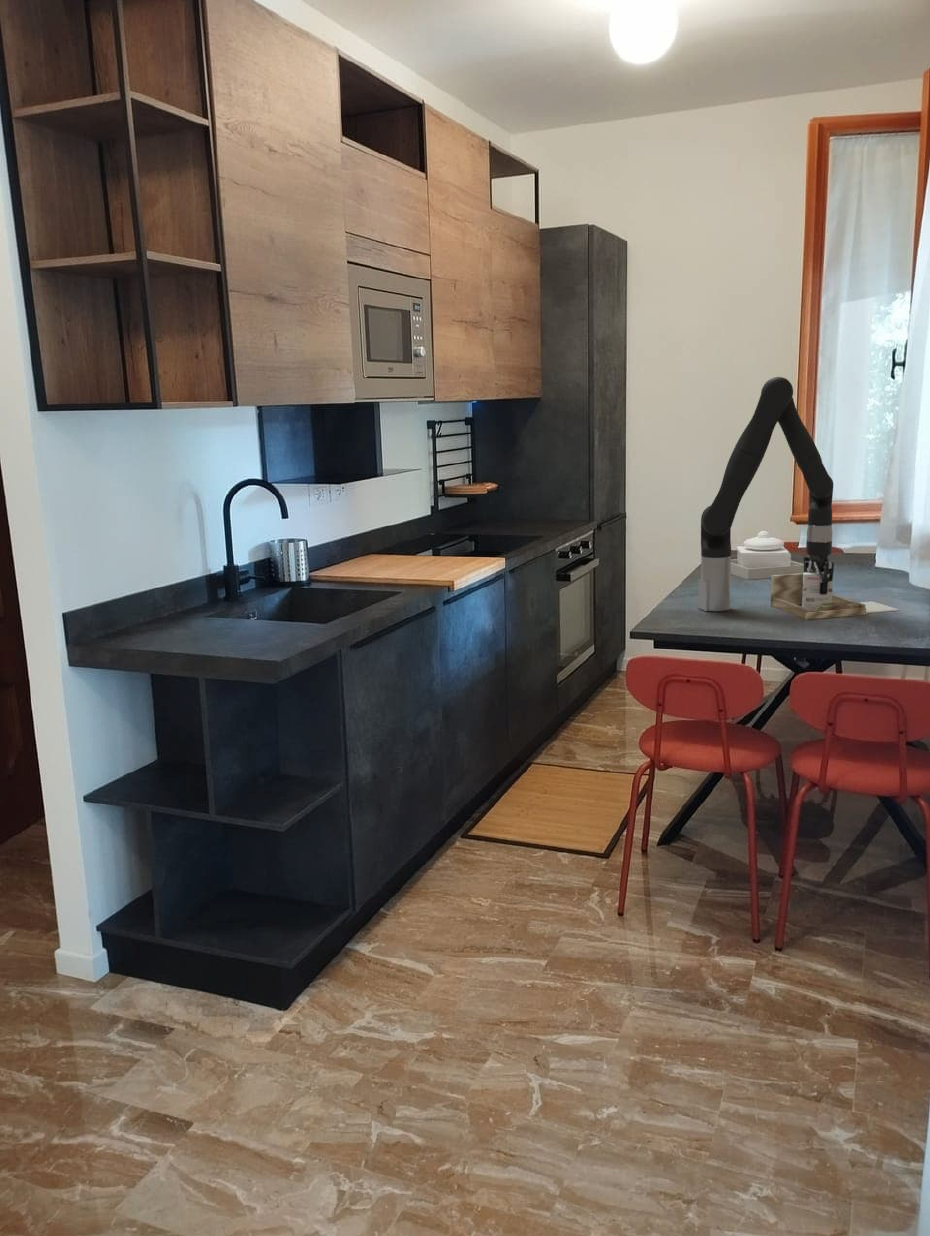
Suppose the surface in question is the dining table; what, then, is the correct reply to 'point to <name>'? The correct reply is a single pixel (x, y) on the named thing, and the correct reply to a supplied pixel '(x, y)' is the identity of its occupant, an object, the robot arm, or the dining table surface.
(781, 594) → the rack
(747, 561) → the white lidded dish
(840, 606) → the walnut offcut
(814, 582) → the ink box
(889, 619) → the dining table surface
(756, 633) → the dining table surface
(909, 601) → the dining table surface
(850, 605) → the maple offcut
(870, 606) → the felt mat
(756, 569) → the square grey tray
